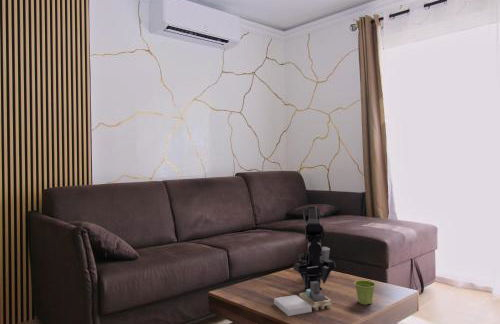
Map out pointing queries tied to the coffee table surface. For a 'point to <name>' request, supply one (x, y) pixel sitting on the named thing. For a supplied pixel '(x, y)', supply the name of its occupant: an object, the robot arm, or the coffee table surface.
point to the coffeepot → (325, 254)
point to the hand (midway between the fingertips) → (314, 284)
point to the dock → (292, 305)
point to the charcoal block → (318, 297)
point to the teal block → (308, 293)
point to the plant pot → (365, 291)
